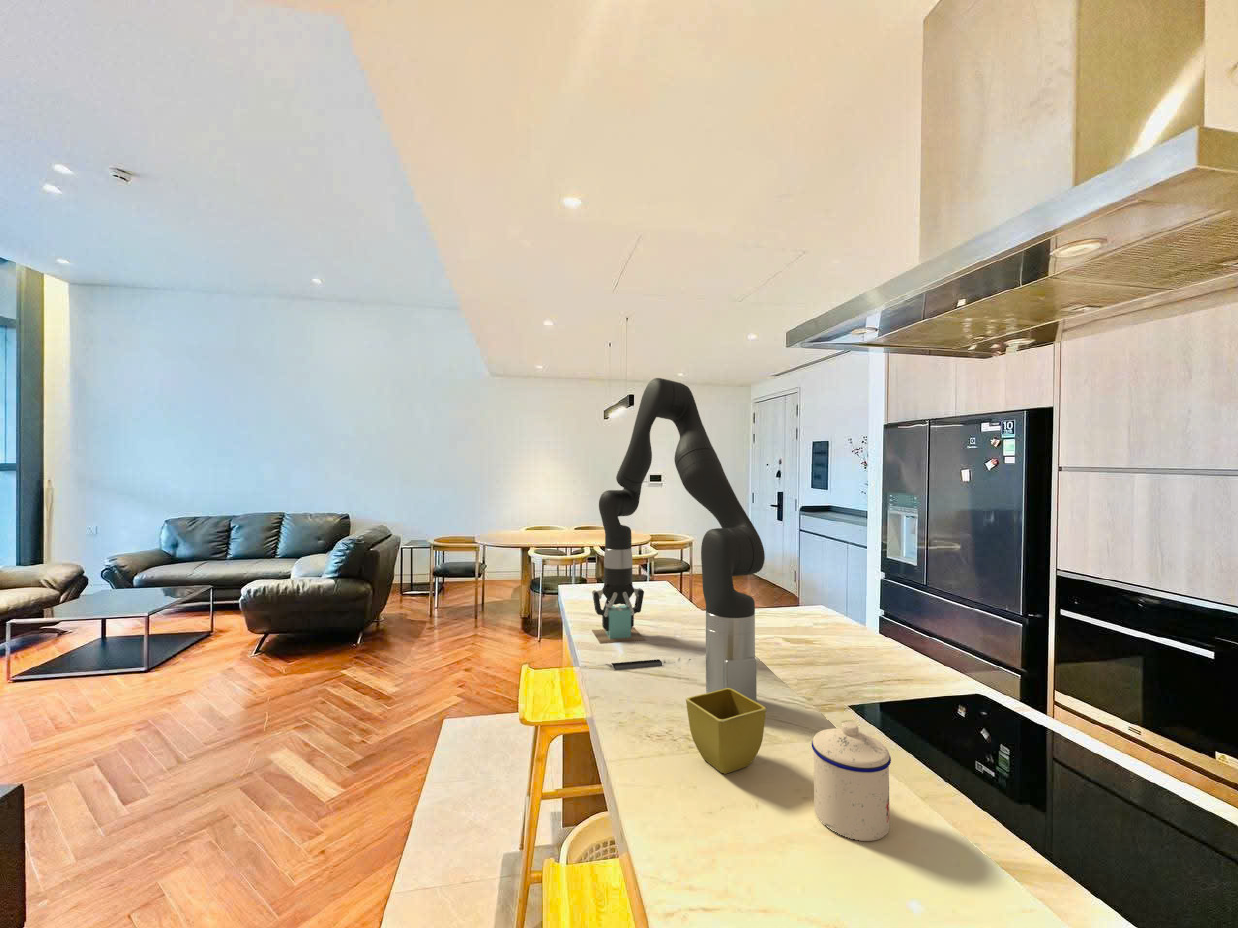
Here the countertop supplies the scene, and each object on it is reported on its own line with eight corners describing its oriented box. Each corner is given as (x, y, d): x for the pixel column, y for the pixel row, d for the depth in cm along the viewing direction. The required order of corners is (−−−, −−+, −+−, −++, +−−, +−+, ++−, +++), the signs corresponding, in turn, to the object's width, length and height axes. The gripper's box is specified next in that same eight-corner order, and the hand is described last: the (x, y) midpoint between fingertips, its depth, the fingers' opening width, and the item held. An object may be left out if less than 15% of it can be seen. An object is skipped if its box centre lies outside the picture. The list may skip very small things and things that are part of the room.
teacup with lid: (908, 842, 61) (907, 741, 61) (834, 846, 60) (833, 744, 60) (853, 782, 72) (852, 698, 73) (791, 785, 72) (790, 700, 72)
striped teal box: (631, 637, 134) (631, 609, 134) (610, 638, 133) (610, 610, 133) (625, 631, 140) (625, 604, 140) (605, 632, 138) (605, 605, 139)
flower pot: (720, 786, 71) (720, 720, 72) (684, 756, 79) (684, 697, 80) (768, 770, 76) (768, 707, 76) (729, 743, 83) (729, 686, 84)
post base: (646, 646, 132) (646, 618, 132) (600, 649, 129) (600, 621, 129) (633, 632, 143) (634, 607, 144) (591, 635, 141) (591, 609, 141)
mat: (662, 666, 118) (662, 662, 118) (615, 670, 115) (615, 666, 115) (648, 650, 128) (648, 647, 128) (605, 653, 126) (605, 650, 126)
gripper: (594, 568, 131) (594, 635, 131) (648, 566, 135) (648, 631, 134) (589, 563, 139) (588, 627, 138) (640, 562, 142) (640, 623, 142)
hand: (618, 629), depth 136 cm, fingers closed on striped teal box, 5 cm apart
